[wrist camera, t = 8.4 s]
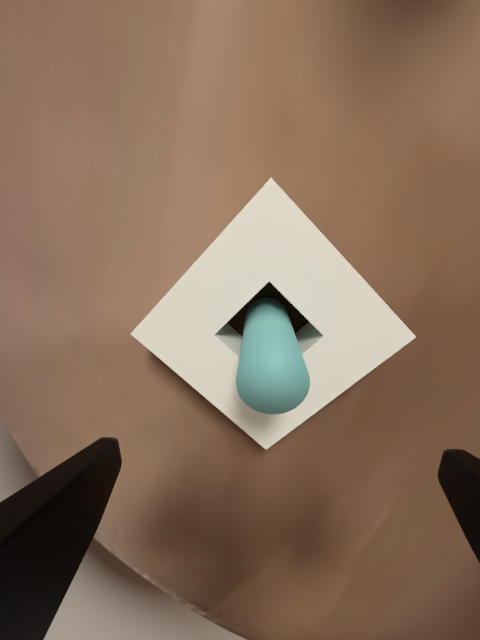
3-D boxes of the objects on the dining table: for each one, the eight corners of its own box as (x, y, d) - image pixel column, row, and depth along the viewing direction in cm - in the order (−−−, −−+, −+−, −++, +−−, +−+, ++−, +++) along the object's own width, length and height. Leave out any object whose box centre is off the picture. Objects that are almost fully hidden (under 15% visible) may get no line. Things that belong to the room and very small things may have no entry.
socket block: (388, 318, 19) (416, 337, 16) (265, 417, 22) (266, 449, 19) (268, 188, 17) (271, 177, 14) (151, 317, 20) (130, 334, 17)
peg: (296, 317, 20) (325, 384, 11) (266, 344, 20) (271, 426, 12) (267, 288, 19) (273, 334, 10) (237, 317, 20) (220, 382, 11)
